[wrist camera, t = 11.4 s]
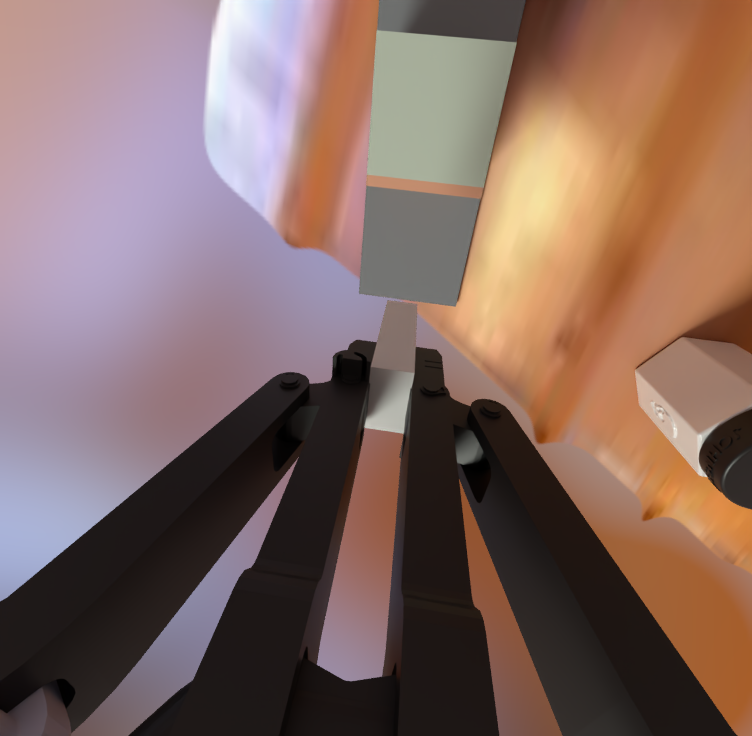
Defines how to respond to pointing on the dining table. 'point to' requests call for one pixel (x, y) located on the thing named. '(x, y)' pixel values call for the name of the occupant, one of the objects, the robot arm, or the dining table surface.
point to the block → (435, 111)
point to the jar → (704, 409)
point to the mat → (419, 209)
